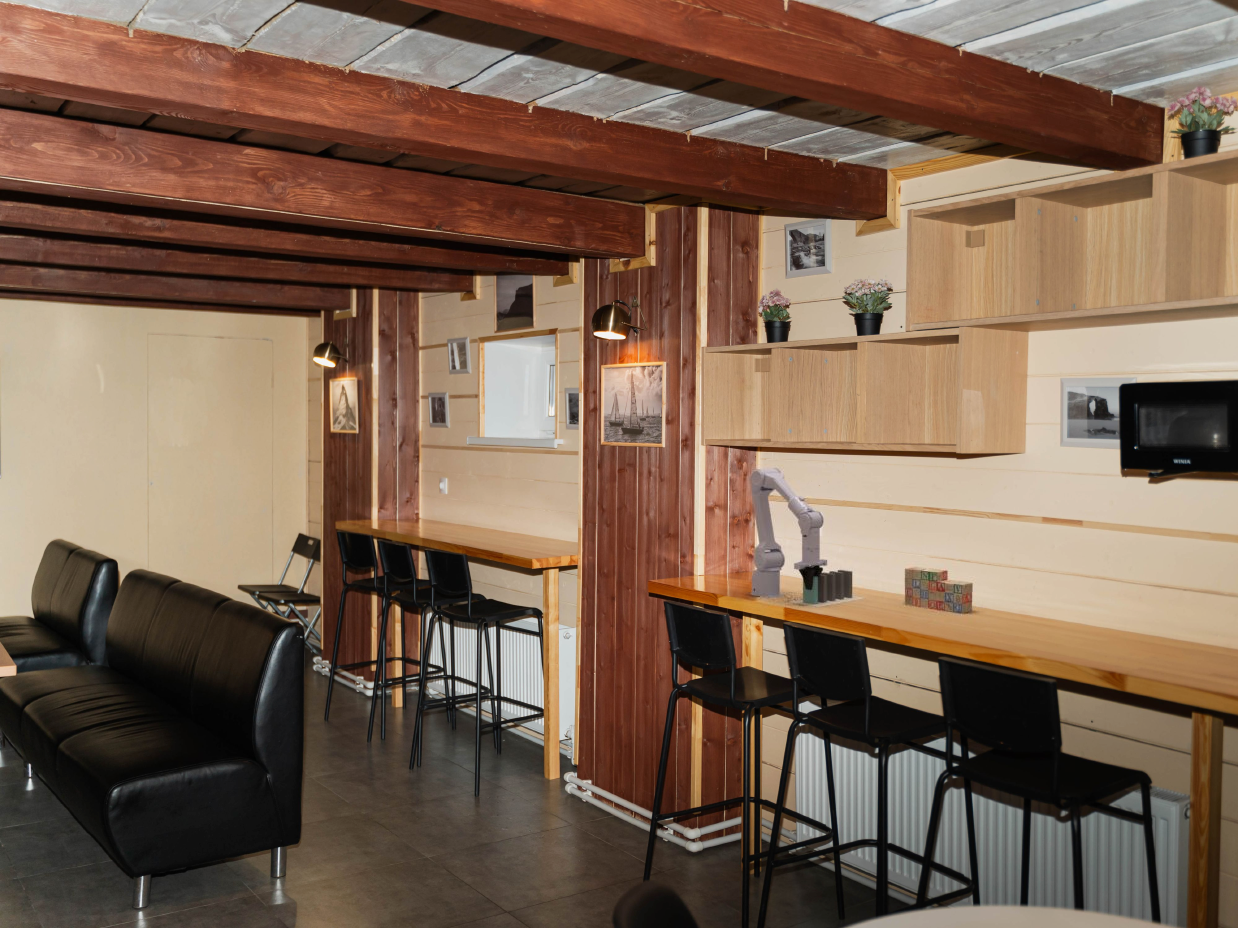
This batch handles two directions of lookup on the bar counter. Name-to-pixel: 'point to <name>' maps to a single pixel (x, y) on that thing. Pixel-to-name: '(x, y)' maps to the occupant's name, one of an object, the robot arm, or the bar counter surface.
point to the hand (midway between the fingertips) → (810, 589)
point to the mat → (829, 601)
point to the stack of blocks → (937, 590)
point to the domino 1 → (811, 592)
